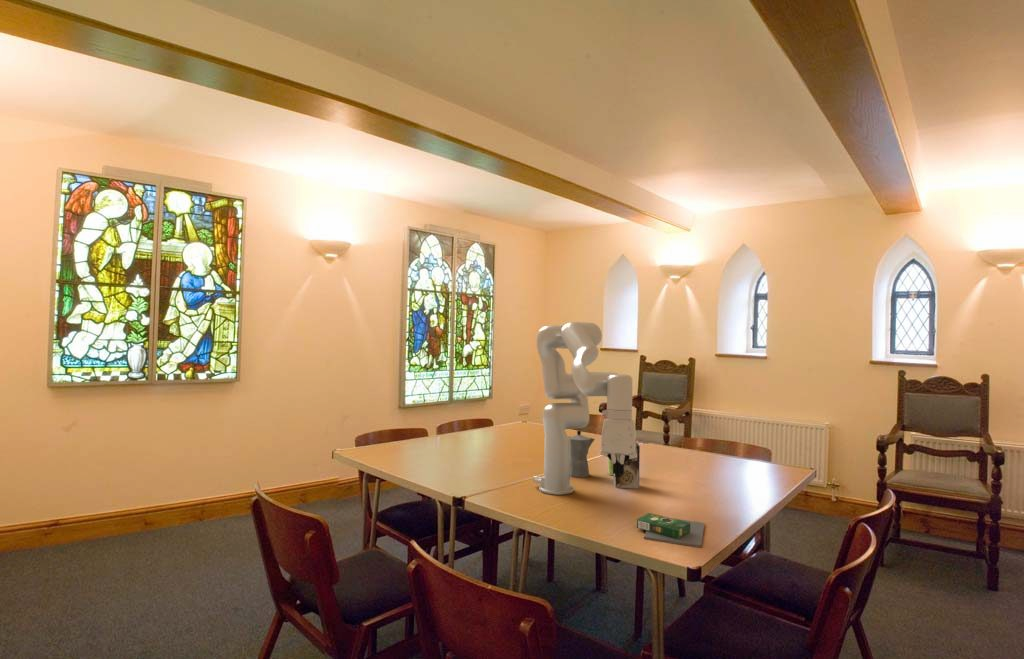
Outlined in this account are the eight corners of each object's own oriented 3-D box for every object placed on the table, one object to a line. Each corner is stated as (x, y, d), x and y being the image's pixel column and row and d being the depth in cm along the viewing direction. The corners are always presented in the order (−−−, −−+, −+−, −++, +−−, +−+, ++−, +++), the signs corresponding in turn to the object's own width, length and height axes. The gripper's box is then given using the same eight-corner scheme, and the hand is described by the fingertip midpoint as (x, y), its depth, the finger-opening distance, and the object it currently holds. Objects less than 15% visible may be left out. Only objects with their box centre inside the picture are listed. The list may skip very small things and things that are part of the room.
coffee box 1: (637, 484, 210) (638, 442, 210) (639, 489, 203) (640, 445, 204) (613, 483, 211) (614, 441, 211) (614, 487, 204) (615, 444, 205)
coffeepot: (591, 472, 228) (592, 429, 228) (596, 478, 218) (597, 432, 219) (554, 471, 227) (556, 428, 227) (558, 477, 217) (559, 432, 218)
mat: (643, 538, 151) (643, 536, 151) (653, 517, 170) (653, 515, 170) (701, 547, 146) (701, 545, 146) (704, 524, 164) (704, 522, 164)
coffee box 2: (635, 529, 158) (679, 540, 149) (635, 518, 158) (679, 529, 150) (648, 521, 164) (690, 532, 156) (648, 512, 164) (691, 522, 156)
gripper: (592, 414, 164) (591, 476, 164) (642, 418, 159) (641, 482, 158) (597, 412, 171) (596, 471, 171) (646, 415, 166) (645, 476, 165)
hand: (618, 476), depth 164 cm, fingers closed
